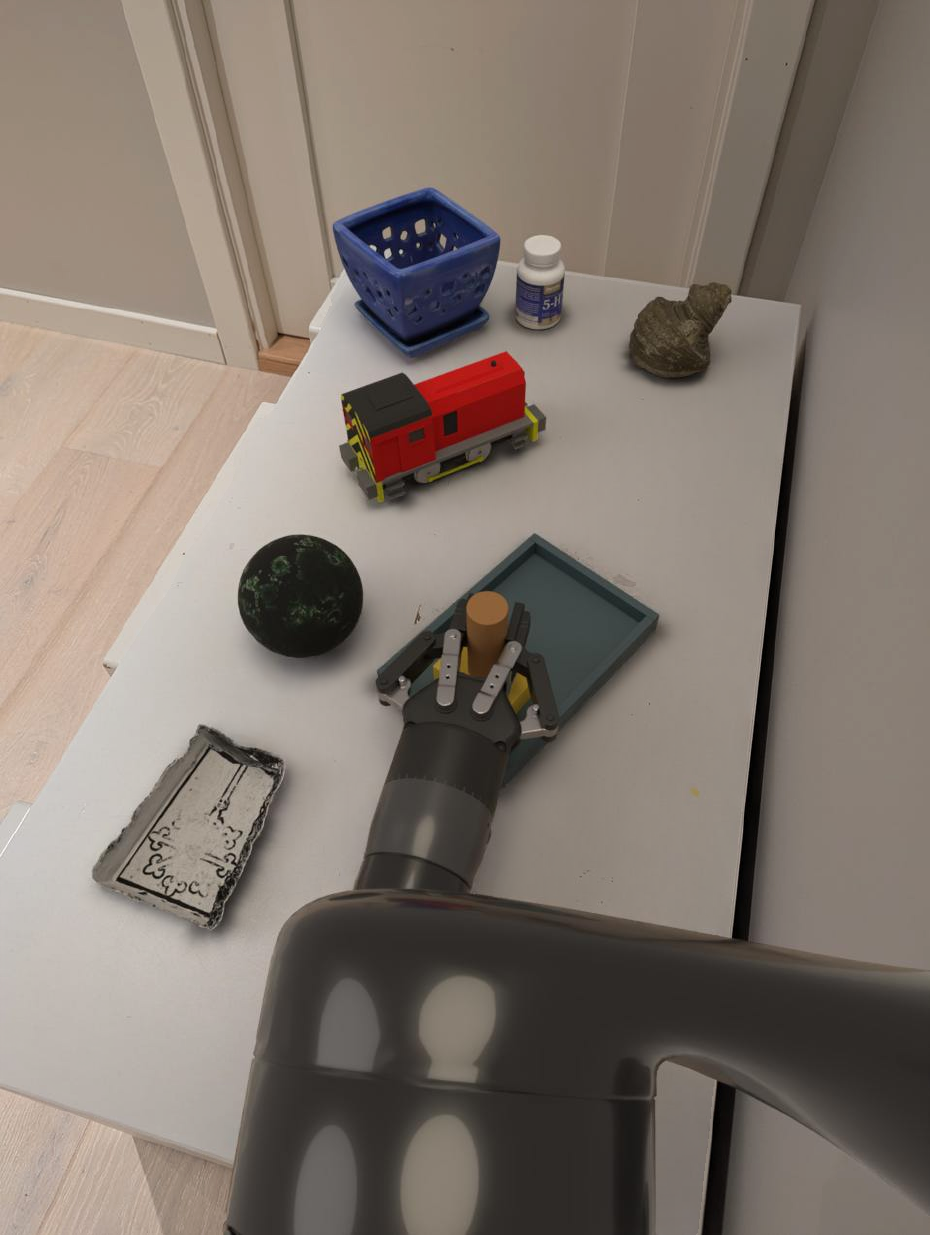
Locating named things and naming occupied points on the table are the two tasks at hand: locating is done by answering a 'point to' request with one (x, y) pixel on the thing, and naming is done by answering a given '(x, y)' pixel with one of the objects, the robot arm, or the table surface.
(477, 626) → the stamp with peg handle
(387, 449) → the toy train
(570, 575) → the tray
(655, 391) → the table surface
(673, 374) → the seashell
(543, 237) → the pill bottle
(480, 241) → the flower pot
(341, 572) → the decorative stone
